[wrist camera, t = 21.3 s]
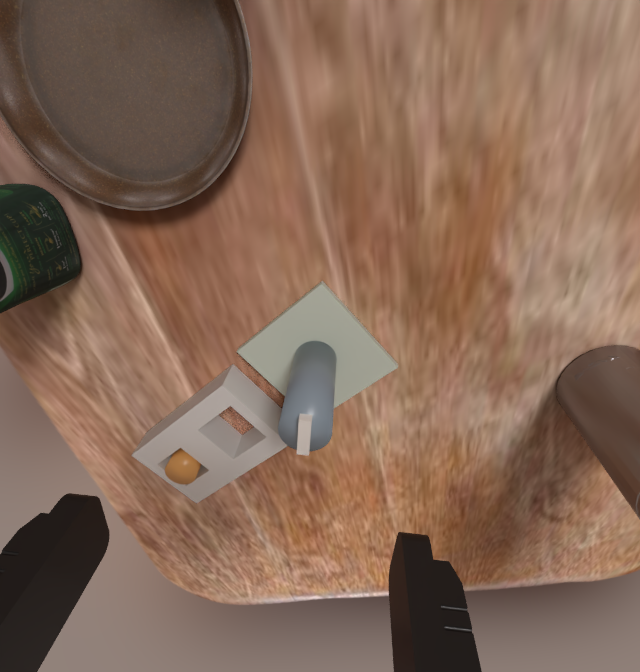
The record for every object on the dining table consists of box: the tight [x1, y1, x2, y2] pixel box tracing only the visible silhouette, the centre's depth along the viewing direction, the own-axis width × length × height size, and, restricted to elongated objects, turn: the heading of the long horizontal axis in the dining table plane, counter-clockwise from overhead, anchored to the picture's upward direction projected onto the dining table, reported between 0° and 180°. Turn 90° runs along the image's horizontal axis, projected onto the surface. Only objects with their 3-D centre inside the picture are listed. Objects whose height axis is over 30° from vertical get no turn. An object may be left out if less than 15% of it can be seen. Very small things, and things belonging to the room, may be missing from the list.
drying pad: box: [237, 281, 398, 408], centre depth 43 cm, size 12×12×1 cm
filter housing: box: [131, 364, 288, 504], centre depth 48 cm, size 16×10×4 cm, turn 131°
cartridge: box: [278, 341, 337, 455], centre depth 38 cm, size 4×4×12 cm
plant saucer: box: [0, 0, 252, 211], centre depth 31 cm, size 21×21×3 cm
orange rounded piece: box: [165, 448, 202, 485], centre depth 48 cm, size 4×4×3 cm
